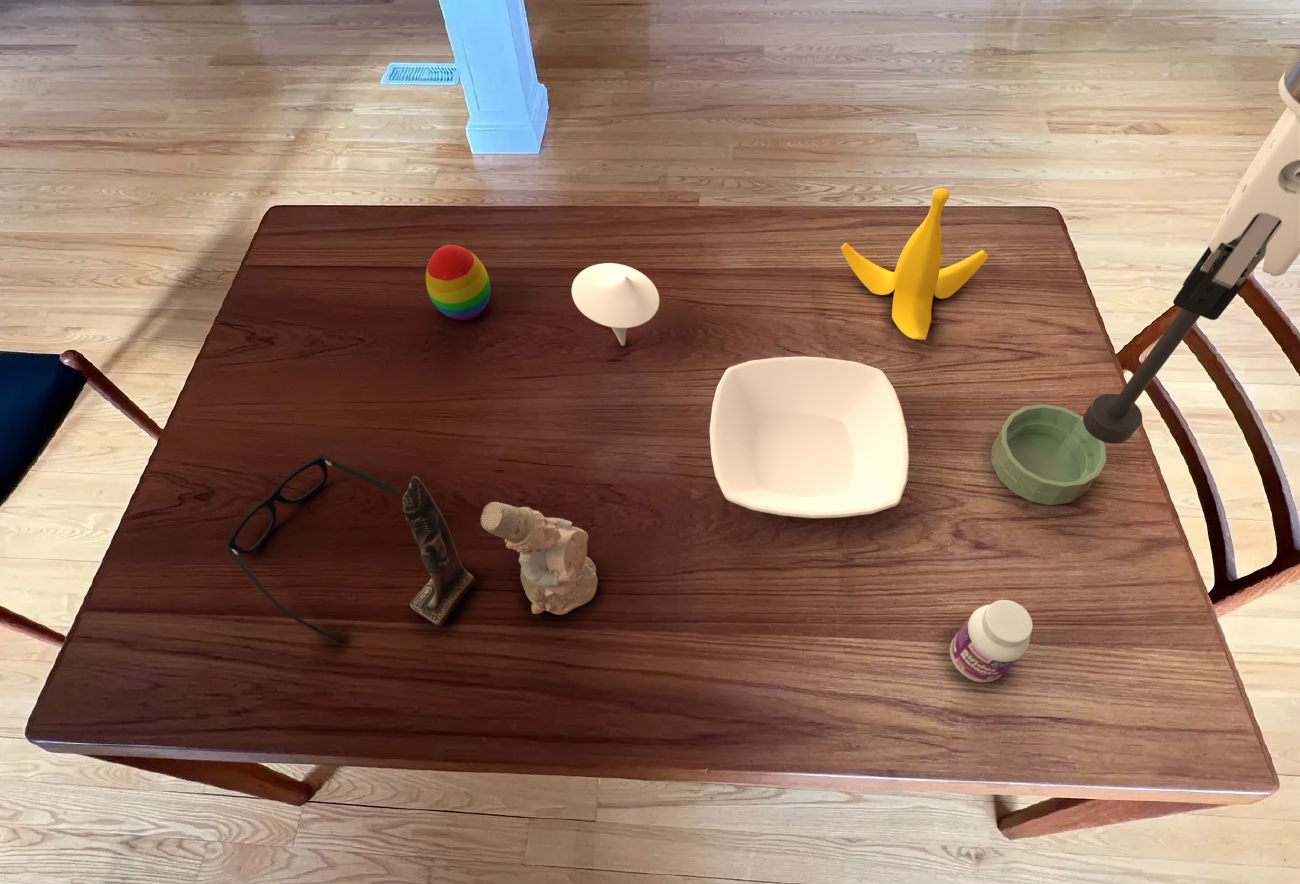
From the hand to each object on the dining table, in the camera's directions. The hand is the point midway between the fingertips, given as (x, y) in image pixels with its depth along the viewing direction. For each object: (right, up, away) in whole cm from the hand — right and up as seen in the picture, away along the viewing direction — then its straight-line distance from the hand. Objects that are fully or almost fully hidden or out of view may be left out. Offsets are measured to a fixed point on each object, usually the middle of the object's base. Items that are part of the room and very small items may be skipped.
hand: (1199, 300), depth 61 cm
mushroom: (-46, +2, +42) cm, 62 cm away
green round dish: (+2, -14, +29) cm, 32 cm away
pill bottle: (-10, -32, +17) cm, 38 cm away
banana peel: (-8, +7, +43) cm, 44 cm away
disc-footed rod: (+1, -9, +14) cm, 17 cm away
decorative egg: (-67, +8, +48) cm, 83 cm away
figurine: (-52, -26, +24) cm, 63 cm away
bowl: (-25, -13, +31) cm, 42 cm away
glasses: (-77, -23, +27) cm, 85 cm away
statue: (-64, -27, +24) cm, 73 cm away
